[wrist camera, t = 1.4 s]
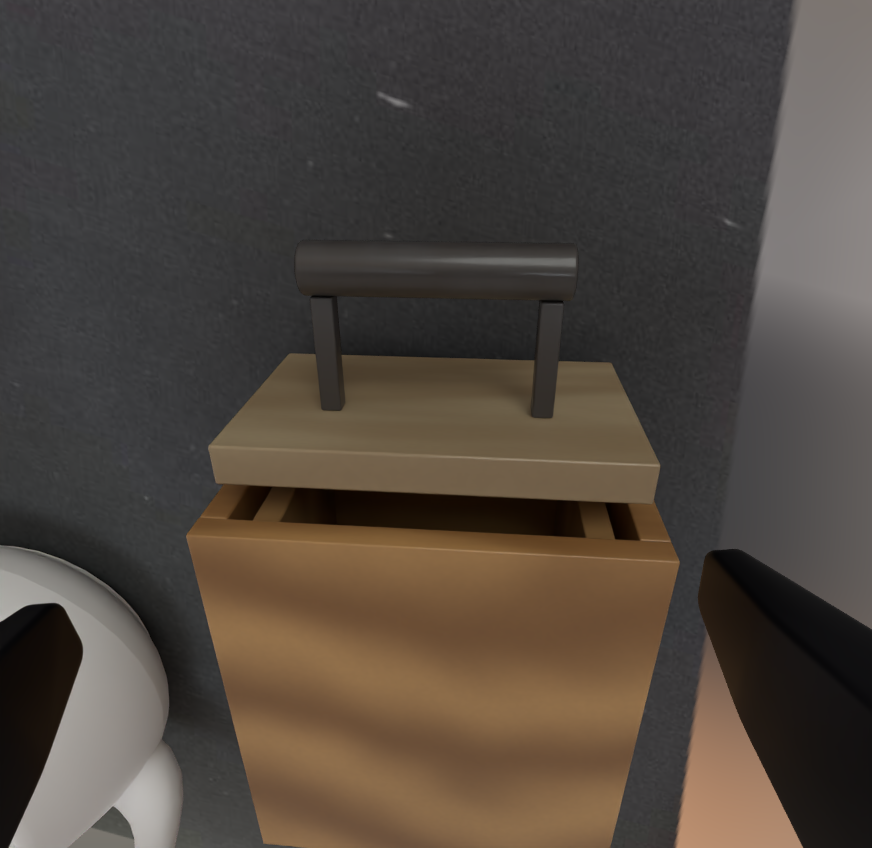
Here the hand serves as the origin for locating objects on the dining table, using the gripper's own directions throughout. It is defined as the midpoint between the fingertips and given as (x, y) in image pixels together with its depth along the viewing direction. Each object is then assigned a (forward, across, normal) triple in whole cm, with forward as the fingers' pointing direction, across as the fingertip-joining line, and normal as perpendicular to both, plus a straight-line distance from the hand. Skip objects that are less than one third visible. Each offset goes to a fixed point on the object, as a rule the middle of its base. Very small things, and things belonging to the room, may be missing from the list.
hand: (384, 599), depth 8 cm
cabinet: (+14, -1, +11) cm, 18 cm away
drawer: (+13, -1, +6) cm, 14 cm away
